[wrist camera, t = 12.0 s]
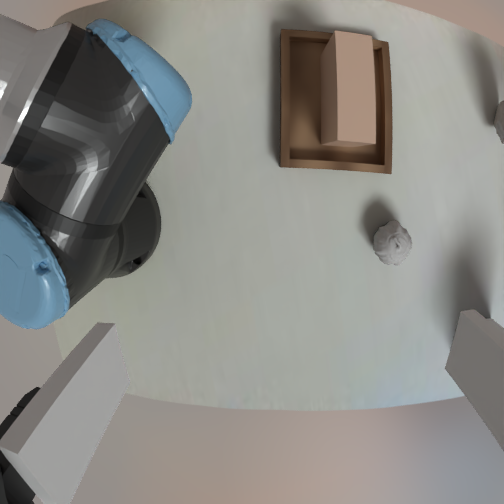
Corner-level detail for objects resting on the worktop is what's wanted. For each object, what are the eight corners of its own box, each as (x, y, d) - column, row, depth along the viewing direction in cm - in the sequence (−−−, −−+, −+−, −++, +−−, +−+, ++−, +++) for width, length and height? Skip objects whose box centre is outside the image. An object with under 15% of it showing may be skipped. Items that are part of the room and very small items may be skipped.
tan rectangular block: (320, 144, 38) (337, 140, 29) (320, 56, 34) (334, 30, 26) (351, 147, 37) (375, 143, 29) (350, 59, 34) (371, 36, 26)
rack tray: (279, 167, 39) (280, 167, 37) (280, 36, 34) (281, 29, 32) (384, 173, 39) (391, 174, 37) (382, 47, 34) (388, 42, 32)
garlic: (365, 221, 41) (379, 229, 36) (401, 215, 40) (418, 222, 35) (370, 263, 42) (382, 276, 37) (404, 256, 42) (420, 268, 37)
